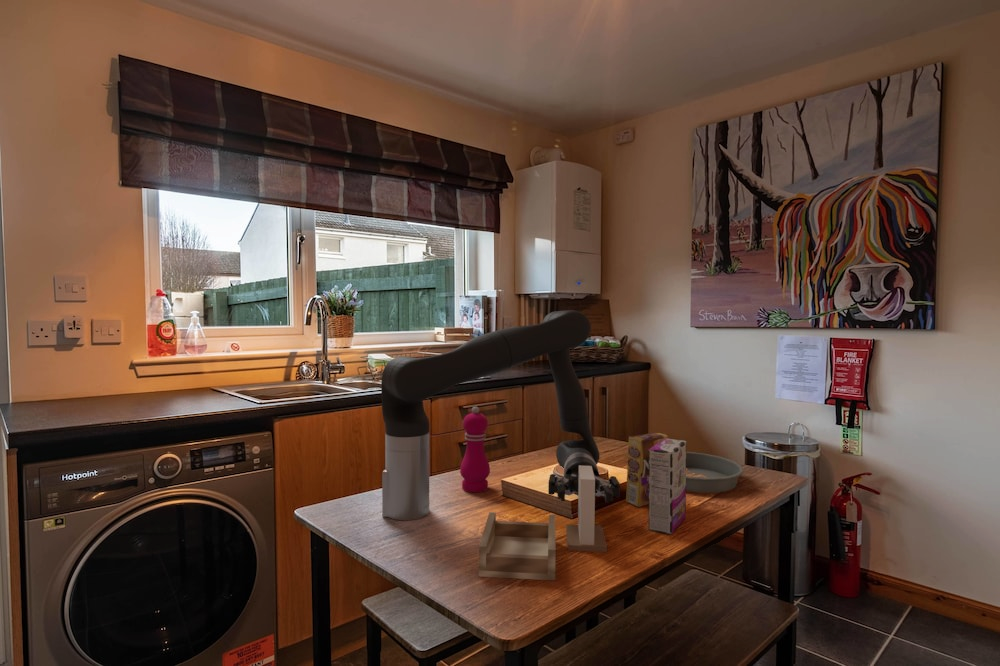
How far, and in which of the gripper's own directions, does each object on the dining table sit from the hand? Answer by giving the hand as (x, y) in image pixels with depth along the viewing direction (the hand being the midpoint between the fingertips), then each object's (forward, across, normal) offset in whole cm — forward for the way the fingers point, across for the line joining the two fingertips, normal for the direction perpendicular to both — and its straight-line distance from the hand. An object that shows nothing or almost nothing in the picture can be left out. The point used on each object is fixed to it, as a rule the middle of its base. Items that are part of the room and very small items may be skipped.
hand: (585, 497), depth 108 cm
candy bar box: (-8, +17, +8) cm, 20 cm away
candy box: (-21, +15, +8) cm, 27 cm away
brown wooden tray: (+11, -12, +8) cm, 18 cm away
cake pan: (-40, +30, +8) cm, 50 cm away
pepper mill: (-26, -25, +8) cm, 37 cm away
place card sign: (+2, 0, +8) cm, 8 cm away
